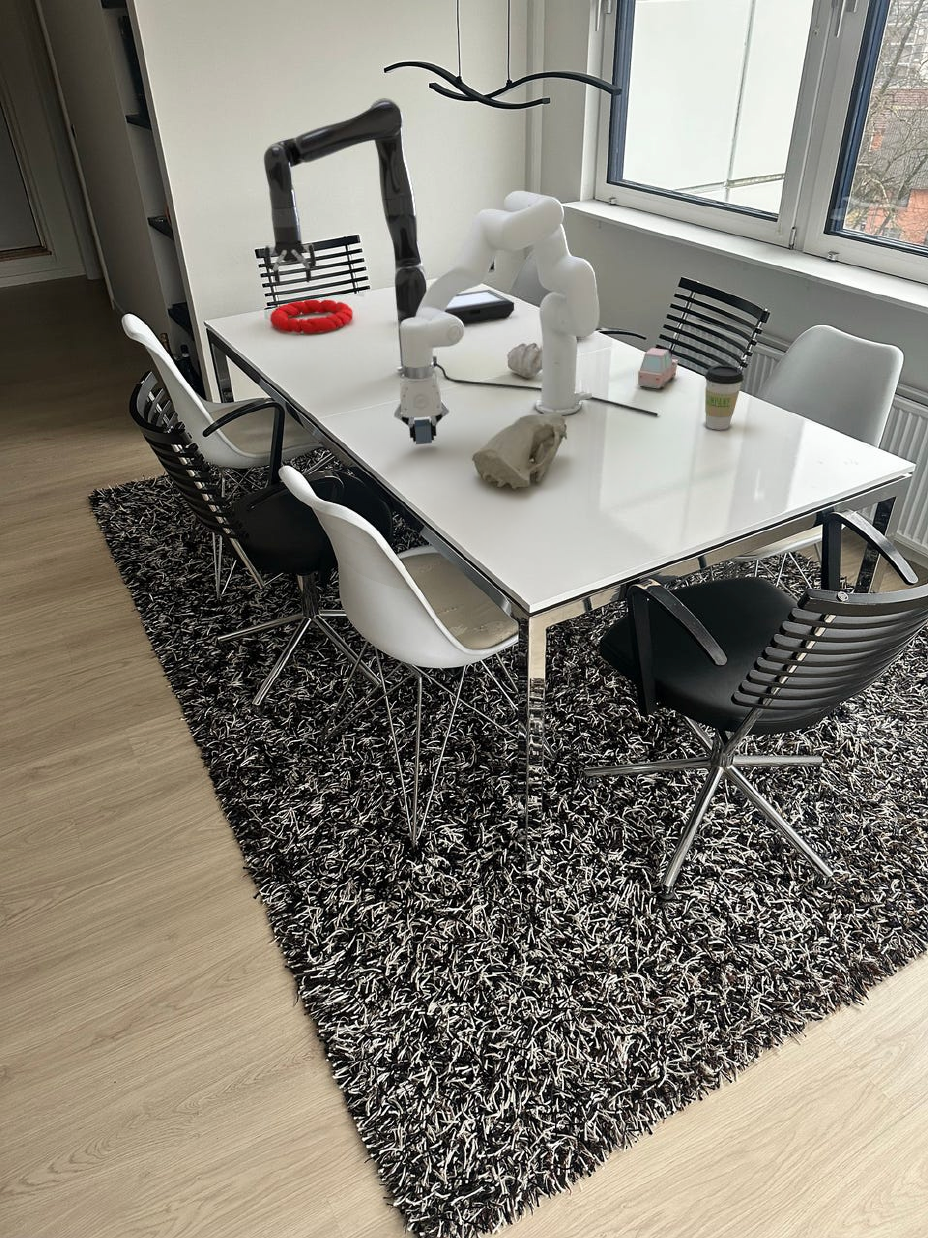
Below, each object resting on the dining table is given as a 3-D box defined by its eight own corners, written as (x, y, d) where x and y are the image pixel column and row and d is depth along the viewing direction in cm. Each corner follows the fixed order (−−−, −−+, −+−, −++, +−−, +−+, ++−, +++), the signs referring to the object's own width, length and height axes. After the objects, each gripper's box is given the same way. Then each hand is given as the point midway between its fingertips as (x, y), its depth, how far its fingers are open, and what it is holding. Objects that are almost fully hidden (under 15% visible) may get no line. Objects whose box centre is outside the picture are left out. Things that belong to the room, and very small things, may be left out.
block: (415, 437, 233) (413, 419, 230) (430, 435, 233) (429, 418, 230) (416, 444, 229) (414, 426, 226) (431, 443, 229) (430, 425, 226)
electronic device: (433, 312, 313) (412, 299, 328) (434, 330, 317) (413, 316, 332) (514, 300, 323) (490, 287, 338) (514, 317, 327) (490, 304, 342)
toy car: (680, 376, 271) (684, 343, 265) (662, 392, 260) (666, 358, 255) (651, 371, 275) (654, 339, 269) (632, 387, 264) (635, 354, 259)
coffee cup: (691, 421, 242) (698, 367, 233) (722, 415, 245) (730, 362, 236) (712, 434, 234) (719, 379, 226) (743, 428, 237) (752, 373, 228)
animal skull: (489, 499, 227) (452, 459, 211) (541, 418, 229) (509, 372, 213) (540, 522, 217) (505, 481, 201) (594, 437, 219) (564, 390, 203)
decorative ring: (264, 303, 335) (273, 317, 310) (343, 294, 342) (358, 307, 317) (267, 323, 338) (277, 338, 313) (345, 314, 345) (360, 328, 320)
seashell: (522, 385, 268) (523, 352, 263) (503, 370, 280) (503, 338, 274) (553, 380, 271) (554, 348, 266) (533, 365, 283) (533, 334, 277)
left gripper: (259, 227, 249) (268, 287, 258) (310, 224, 250) (317, 284, 259) (261, 222, 255) (270, 280, 265) (311, 219, 256) (318, 278, 266)
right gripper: (385, 377, 217) (391, 447, 227) (453, 372, 218) (456, 442, 228) (384, 367, 223) (390, 436, 233) (450, 362, 224) (454, 431, 234)
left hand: (293, 282), depth 262 cm, fingers open, 8 cm apart
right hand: (423, 438), depth 231 cm, fingers closed on block, 4 cm apart
